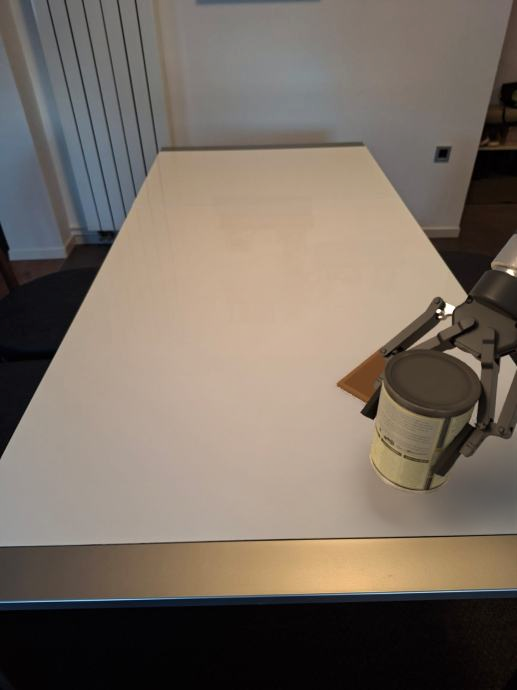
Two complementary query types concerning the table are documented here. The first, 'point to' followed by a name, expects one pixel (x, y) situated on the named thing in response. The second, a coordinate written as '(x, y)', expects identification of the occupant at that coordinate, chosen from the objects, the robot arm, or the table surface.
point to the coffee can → (420, 417)
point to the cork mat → (364, 377)
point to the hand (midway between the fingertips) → (399, 443)
